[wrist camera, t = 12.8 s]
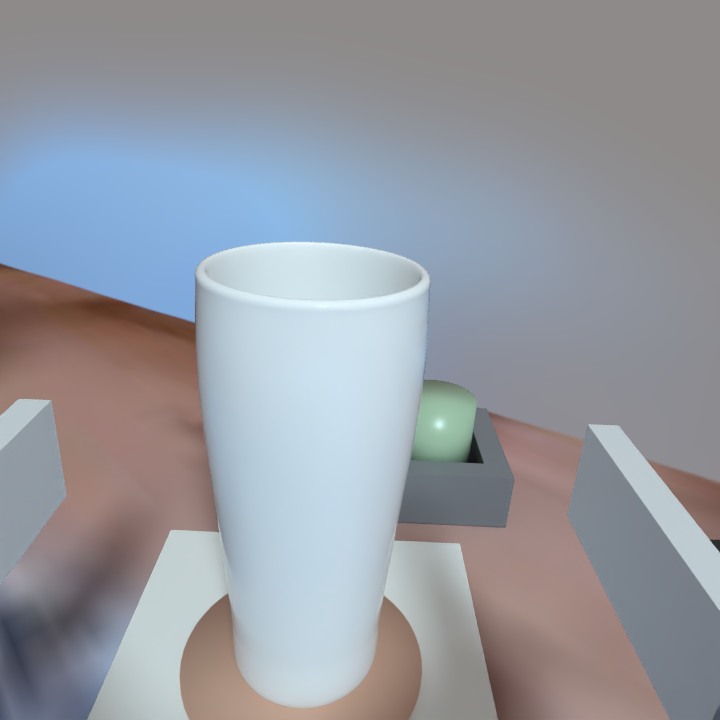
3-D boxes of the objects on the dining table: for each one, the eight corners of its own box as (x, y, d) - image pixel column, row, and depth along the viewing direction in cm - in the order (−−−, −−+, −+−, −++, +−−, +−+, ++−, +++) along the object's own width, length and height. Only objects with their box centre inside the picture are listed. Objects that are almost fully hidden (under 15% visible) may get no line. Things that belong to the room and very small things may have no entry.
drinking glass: (190, 729, 20) (153, 293, 14) (238, 581, 26) (226, 234, 21) (394, 747, 20) (443, 312, 14) (394, 593, 26) (428, 247, 20)
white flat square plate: (27, 876, 17) (22, 858, 17) (171, 539, 30) (170, 526, 30) (529, 894, 17) (534, 878, 17) (458, 553, 30) (460, 540, 30)
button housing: (360, 520, 32) (364, 471, 31) (361, 444, 39) (363, 402, 38) (505, 527, 32) (514, 479, 31) (480, 450, 39) (486, 408, 38)
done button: (392, 480, 33) (398, 414, 31) (389, 437, 37) (394, 378, 35) (473, 484, 33) (483, 418, 31) (461, 441, 37) (470, 381, 35)
